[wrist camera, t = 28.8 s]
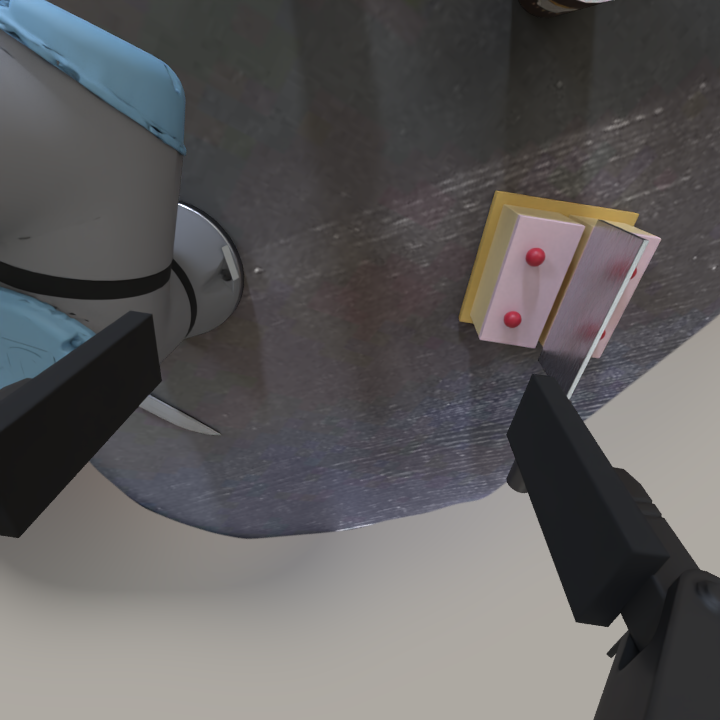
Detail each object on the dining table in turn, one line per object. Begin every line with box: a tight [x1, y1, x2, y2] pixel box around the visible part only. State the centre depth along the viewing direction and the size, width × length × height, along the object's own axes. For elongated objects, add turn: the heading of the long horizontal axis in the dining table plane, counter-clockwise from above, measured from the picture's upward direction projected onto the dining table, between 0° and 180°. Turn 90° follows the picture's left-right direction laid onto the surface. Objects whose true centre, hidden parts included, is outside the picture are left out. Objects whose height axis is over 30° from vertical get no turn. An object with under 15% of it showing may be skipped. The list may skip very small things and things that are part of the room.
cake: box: [459, 190, 661, 358], centre depth 39 cm, size 14×14×9 cm
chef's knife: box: [139, 395, 221, 435], centre depth 56 cm, size 19×1×3 cm
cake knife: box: [507, 219, 649, 493], centre depth 36 cm, size 25×2×7 cm, turn 172°
